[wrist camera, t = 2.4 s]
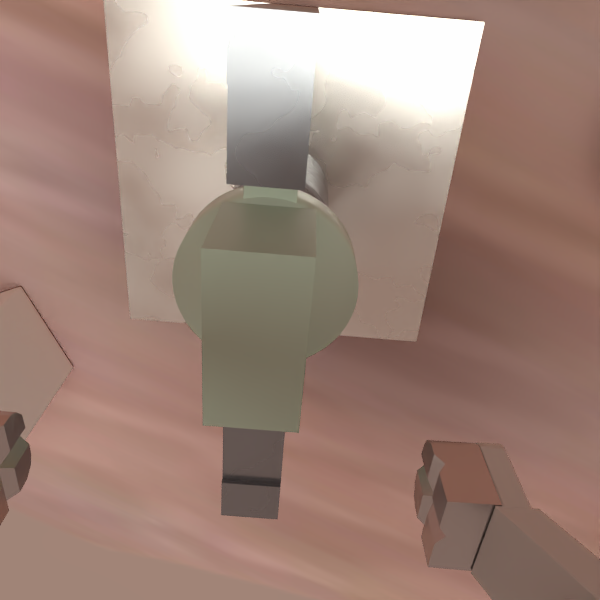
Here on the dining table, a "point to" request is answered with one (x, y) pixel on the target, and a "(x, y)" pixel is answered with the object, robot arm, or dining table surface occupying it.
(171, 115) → the twin post base plate
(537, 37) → the dining table surface
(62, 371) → the milk
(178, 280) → the pale green disc-and-bar piece
